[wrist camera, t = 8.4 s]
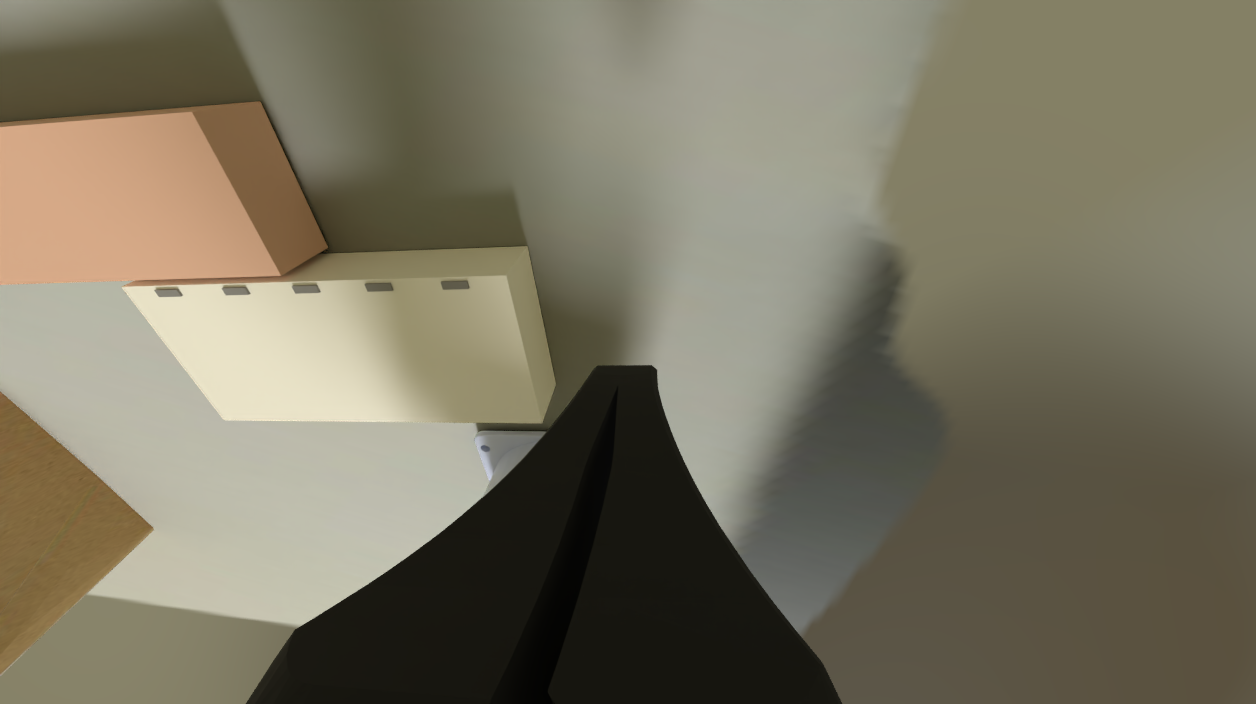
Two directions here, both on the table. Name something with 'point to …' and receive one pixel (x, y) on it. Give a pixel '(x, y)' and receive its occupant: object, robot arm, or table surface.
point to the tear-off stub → (150, 197)
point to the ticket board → (364, 338)
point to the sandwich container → (51, 531)
